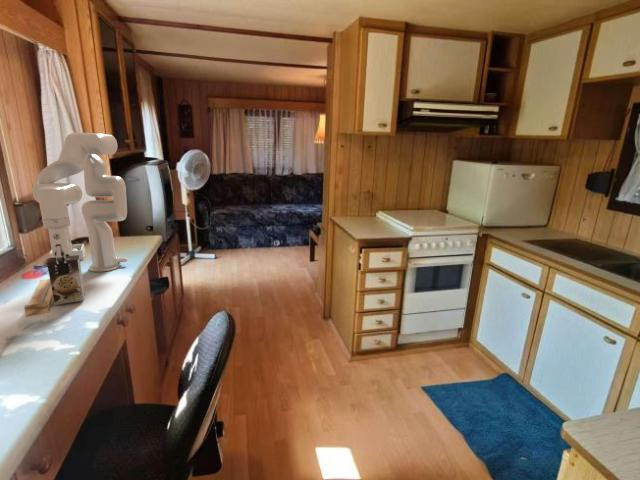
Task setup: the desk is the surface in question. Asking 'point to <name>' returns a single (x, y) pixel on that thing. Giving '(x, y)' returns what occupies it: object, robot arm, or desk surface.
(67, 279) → the coffee box
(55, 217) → the robot arm
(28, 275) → the desk surface
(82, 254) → the parts corral
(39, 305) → the oak board
